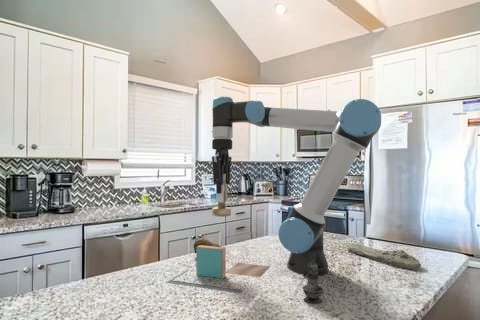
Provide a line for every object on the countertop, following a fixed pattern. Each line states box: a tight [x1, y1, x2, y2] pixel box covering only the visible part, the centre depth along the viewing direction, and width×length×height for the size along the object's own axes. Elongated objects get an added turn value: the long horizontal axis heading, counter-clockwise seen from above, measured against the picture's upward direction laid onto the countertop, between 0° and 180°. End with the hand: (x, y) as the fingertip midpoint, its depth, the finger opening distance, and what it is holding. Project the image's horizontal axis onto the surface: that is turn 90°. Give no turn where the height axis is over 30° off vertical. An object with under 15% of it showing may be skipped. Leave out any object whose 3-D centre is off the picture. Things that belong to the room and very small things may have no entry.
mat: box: [166, 269, 244, 294], centre depth 113 cm, size 26×14×1 cm, turn 70°
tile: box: [195, 245, 227, 279], centre depth 118 cm, size 10×3×10 cm, turn 70°
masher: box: [211, 173, 232, 217], centre depth 127 cm, size 7×7×16 cm
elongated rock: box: [347, 243, 422, 270], centre depth 142 cm, size 35×5×10 cm
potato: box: [193, 239, 222, 254], centre depth 144 cm, size 8×13×8 cm, turn 105°
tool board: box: [226, 262, 271, 278], centre depth 125 cm, size 13×13×1 cm
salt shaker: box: [302, 259, 324, 305], centre depth 99 cm, size 6×6×12 cm
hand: (221, 201), depth 127 cm, fingers closed on masher, 3 cm apart
